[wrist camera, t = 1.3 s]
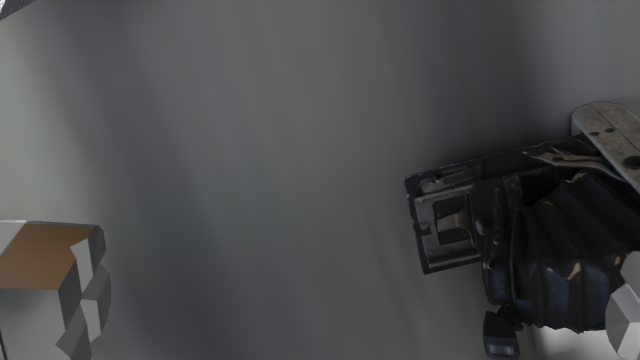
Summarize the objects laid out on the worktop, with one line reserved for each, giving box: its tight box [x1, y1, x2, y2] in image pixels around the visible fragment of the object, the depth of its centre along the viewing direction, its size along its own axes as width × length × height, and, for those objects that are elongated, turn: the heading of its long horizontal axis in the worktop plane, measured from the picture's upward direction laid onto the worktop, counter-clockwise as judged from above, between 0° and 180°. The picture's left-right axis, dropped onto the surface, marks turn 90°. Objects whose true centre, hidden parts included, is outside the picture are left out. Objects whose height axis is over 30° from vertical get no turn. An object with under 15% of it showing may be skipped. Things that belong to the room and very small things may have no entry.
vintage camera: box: [403, 102, 640, 360], centre depth 35 cm, size 10×16×20 cm, turn 104°
